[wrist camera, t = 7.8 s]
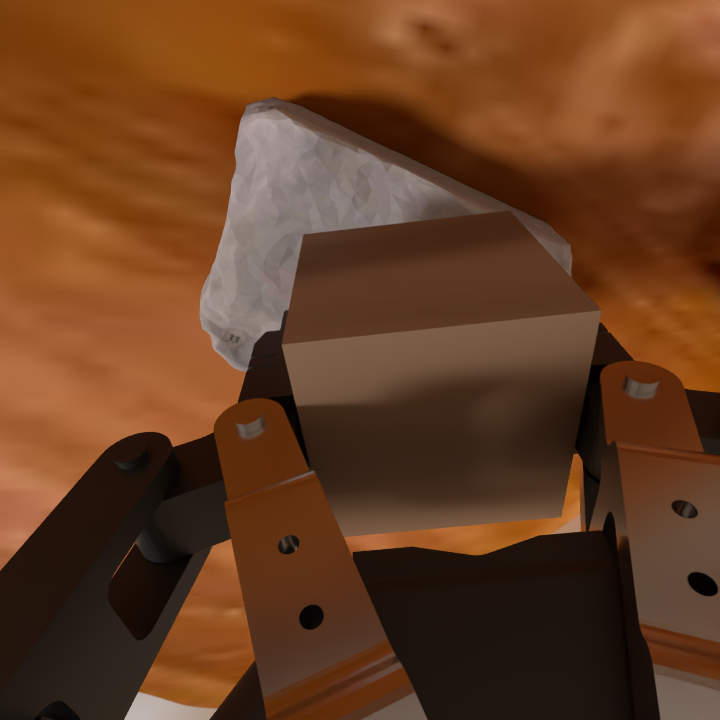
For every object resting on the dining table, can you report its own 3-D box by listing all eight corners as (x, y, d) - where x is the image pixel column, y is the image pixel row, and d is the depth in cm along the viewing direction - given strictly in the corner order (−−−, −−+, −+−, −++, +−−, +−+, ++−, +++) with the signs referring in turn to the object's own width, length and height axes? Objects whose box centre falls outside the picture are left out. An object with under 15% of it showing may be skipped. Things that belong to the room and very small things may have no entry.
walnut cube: (303, 234, 12) (281, 344, 8) (509, 210, 12) (600, 310, 7) (332, 394, 15) (327, 538, 10) (499, 377, 14) (561, 517, 10)
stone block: (442, 376, 24) (578, 207, 18) (446, 457, 21) (618, 285, 14) (208, 292, 22) (263, 57, 15) (169, 368, 18) (218, 108, 12)
